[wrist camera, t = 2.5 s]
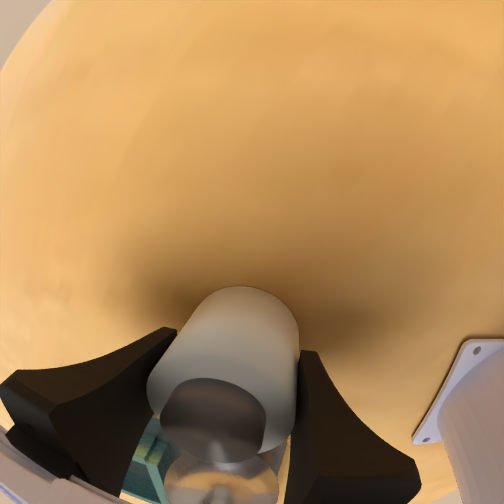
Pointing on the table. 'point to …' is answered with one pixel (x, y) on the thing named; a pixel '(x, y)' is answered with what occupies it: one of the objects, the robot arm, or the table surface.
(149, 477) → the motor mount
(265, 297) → the grey capped cylinder
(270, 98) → the table surface
